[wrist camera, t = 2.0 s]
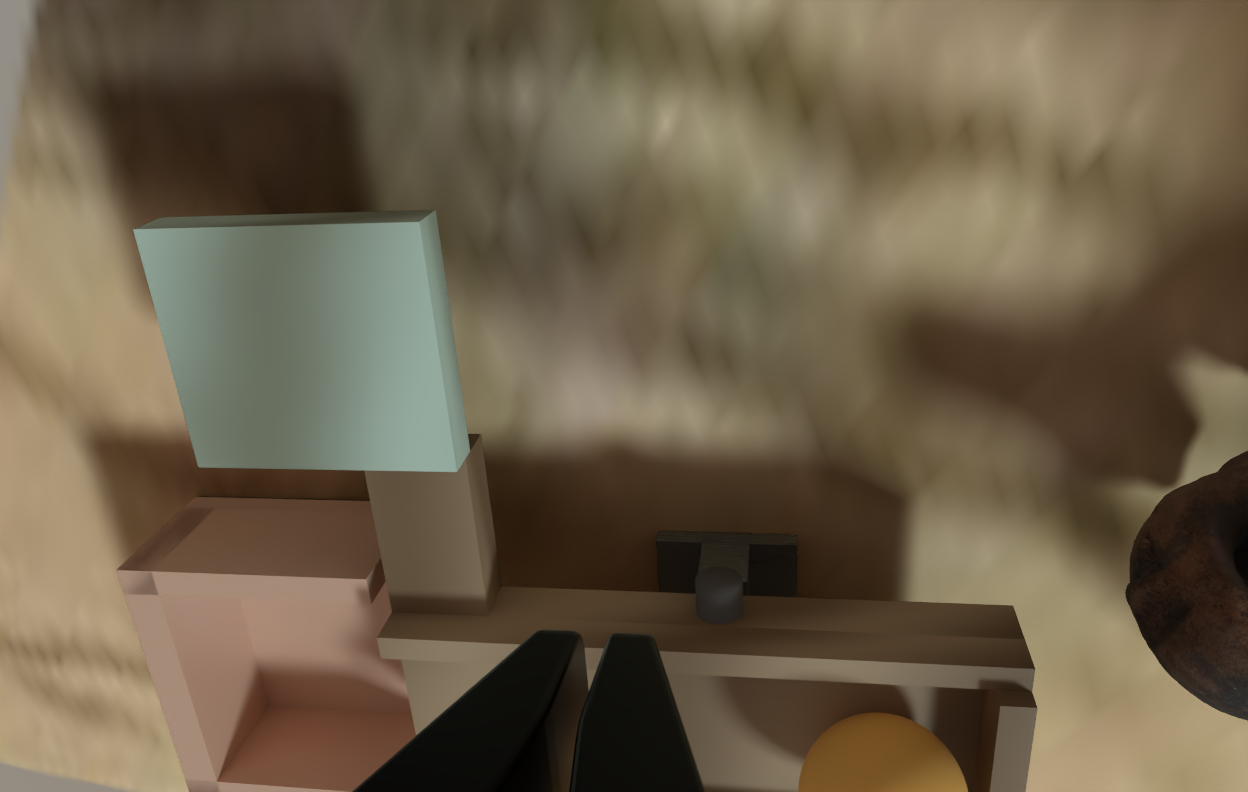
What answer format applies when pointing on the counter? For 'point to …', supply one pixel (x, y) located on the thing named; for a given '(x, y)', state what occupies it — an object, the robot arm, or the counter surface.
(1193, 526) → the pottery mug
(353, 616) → the dish
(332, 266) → the lever
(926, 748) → the ball
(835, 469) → the counter surface
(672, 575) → the fulcrum
